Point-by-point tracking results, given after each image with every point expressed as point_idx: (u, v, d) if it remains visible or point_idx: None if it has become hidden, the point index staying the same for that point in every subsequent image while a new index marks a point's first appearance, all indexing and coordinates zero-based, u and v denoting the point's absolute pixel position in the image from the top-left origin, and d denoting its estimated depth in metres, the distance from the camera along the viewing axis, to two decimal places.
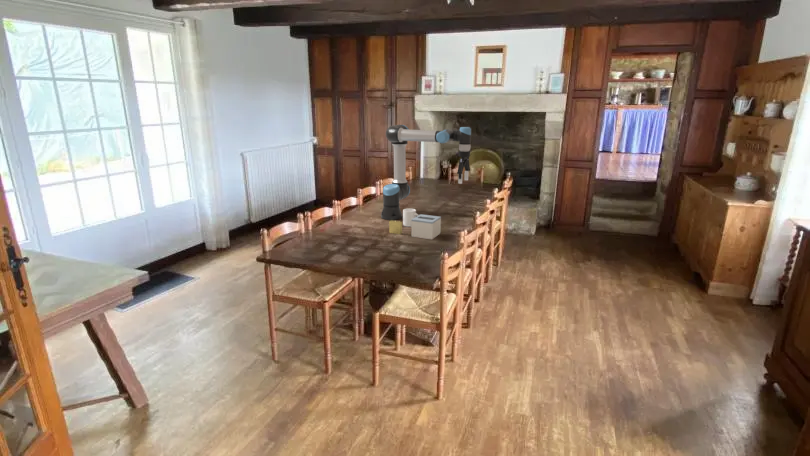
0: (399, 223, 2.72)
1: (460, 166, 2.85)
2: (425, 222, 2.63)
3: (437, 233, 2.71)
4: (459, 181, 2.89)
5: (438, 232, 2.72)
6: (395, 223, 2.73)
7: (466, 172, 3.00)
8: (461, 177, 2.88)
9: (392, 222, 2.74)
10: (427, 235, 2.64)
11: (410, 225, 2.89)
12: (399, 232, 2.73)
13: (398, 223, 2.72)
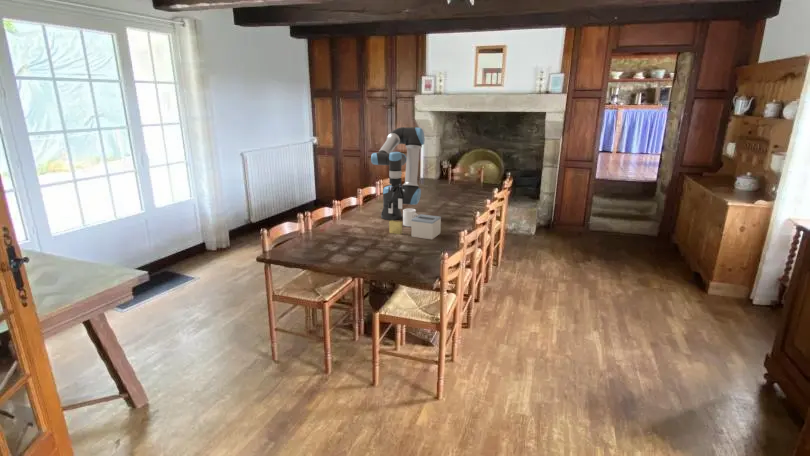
0: (399, 223, 2.72)
1: (389, 195, 2.61)
2: (425, 222, 2.63)
3: (437, 233, 2.71)
4: (389, 211, 2.65)
5: (438, 232, 2.72)
6: (395, 223, 2.73)
7: (400, 200, 2.76)
8: (391, 206, 2.64)
9: (392, 222, 2.74)
10: (427, 235, 2.64)
11: (410, 225, 2.89)
12: (399, 232, 2.73)
13: (398, 223, 2.72)
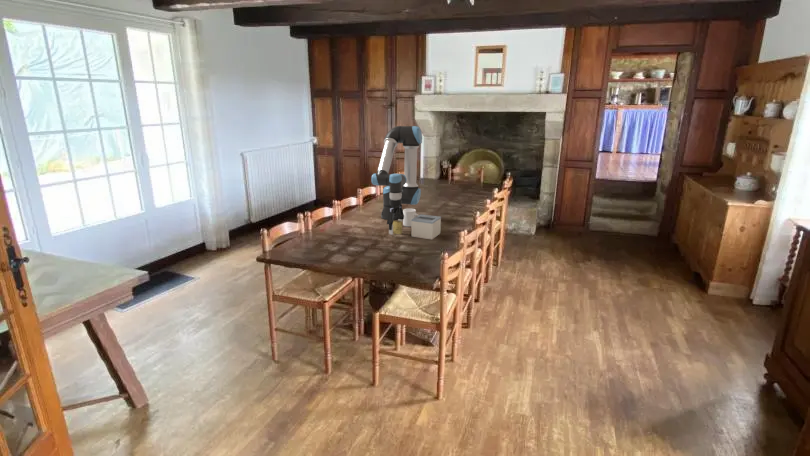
0: (399, 223, 2.72)
1: (390, 216, 2.65)
2: (425, 222, 2.63)
3: (437, 233, 2.71)
4: (390, 232, 2.70)
5: (438, 232, 2.72)
6: (395, 223, 2.73)
7: (399, 220, 2.79)
8: (392, 228, 2.68)
9: None
10: (427, 235, 2.64)
11: (410, 225, 2.89)
12: (399, 232, 2.73)
13: (398, 223, 2.72)
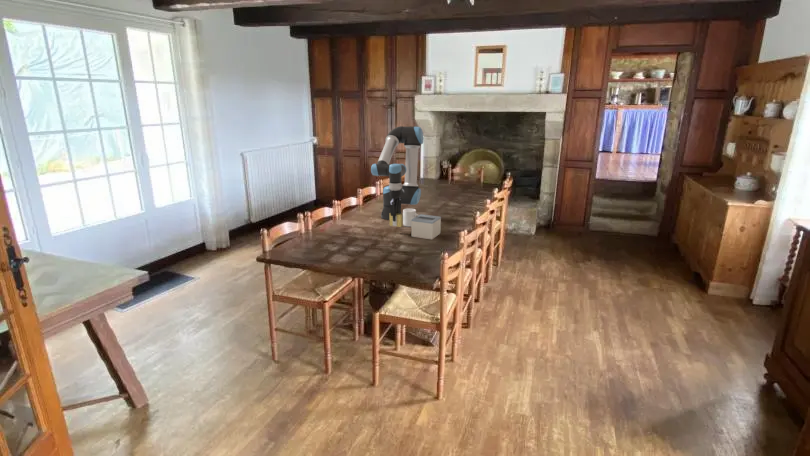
0: (399, 216, 2.71)
1: (392, 209, 2.67)
2: (425, 222, 2.63)
3: (437, 233, 2.71)
4: (394, 223, 2.73)
5: (438, 232, 2.72)
6: None
7: None
8: (395, 219, 2.72)
9: None
10: (427, 235, 2.64)
11: (410, 225, 2.89)
12: (399, 225, 2.73)
13: (398, 216, 2.71)
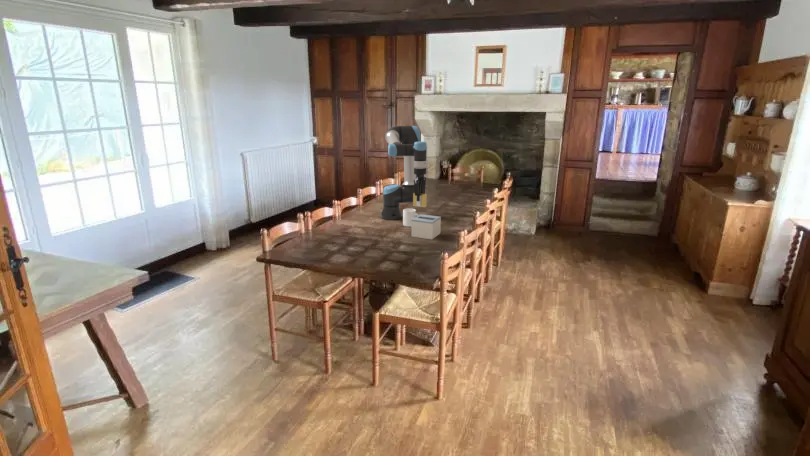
0: (423, 195, 2.63)
1: (416, 188, 2.59)
2: (425, 222, 2.63)
3: (437, 233, 2.71)
4: (417, 203, 2.65)
5: (438, 232, 2.72)
6: None
7: None
8: (419, 199, 2.64)
9: None
10: (427, 235, 2.64)
11: (410, 225, 2.89)
12: (423, 205, 2.65)
13: (422, 195, 2.63)
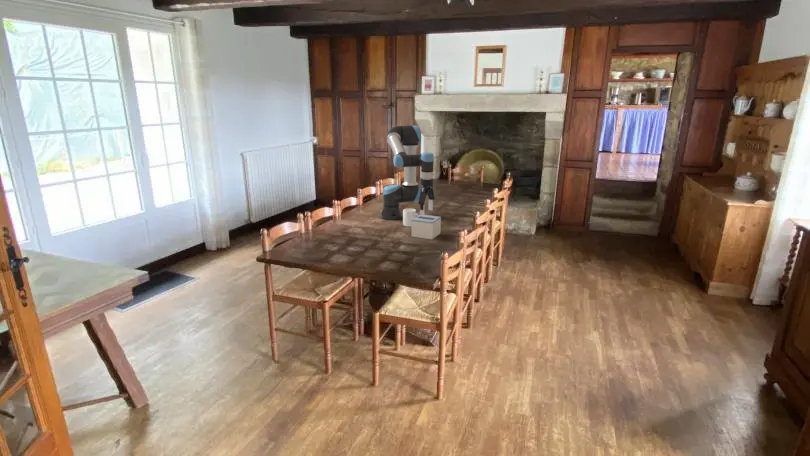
0: None
1: (421, 196, 2.58)
2: (425, 222, 2.63)
3: (437, 233, 2.71)
4: (421, 212, 2.62)
5: (438, 232, 2.72)
6: None
7: (430, 201, 2.72)
8: (423, 208, 2.61)
9: None
10: (427, 235, 2.64)
11: (410, 225, 2.89)
12: None
13: None
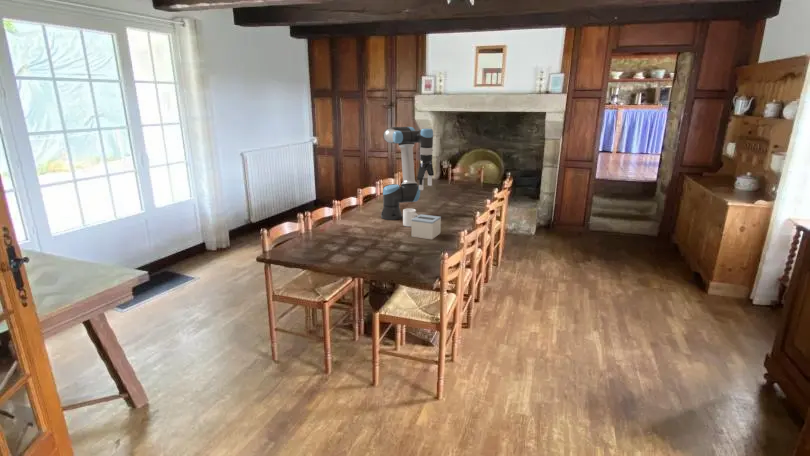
0: None
1: (420, 171, 2.63)
2: (425, 222, 2.63)
3: (437, 233, 2.71)
4: (420, 187, 2.67)
5: (438, 232, 2.72)
6: None
7: (429, 177, 2.77)
8: (422, 183, 2.66)
9: None
10: (427, 235, 2.64)
11: (410, 225, 2.89)
12: None
13: None
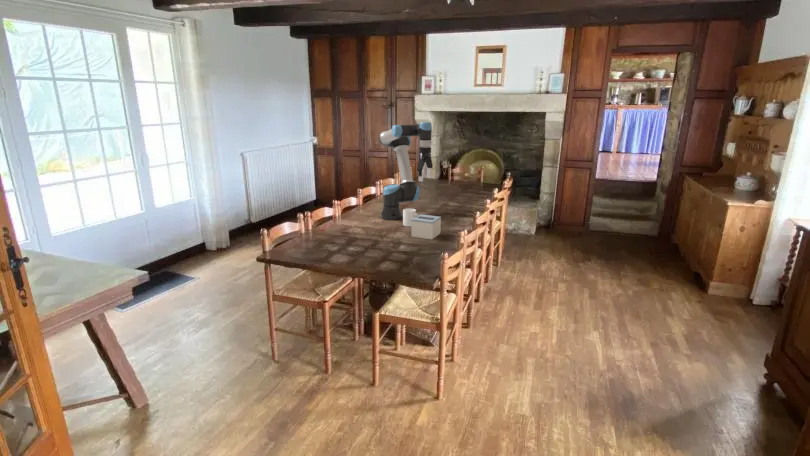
0: None
1: (420, 163, 2.72)
2: (425, 222, 2.63)
3: (437, 233, 2.71)
4: (419, 179, 2.76)
5: (438, 232, 2.72)
6: None
7: (428, 169, 2.87)
8: (421, 174, 2.75)
9: None
10: (427, 235, 2.64)
11: (410, 225, 2.89)
12: None
13: None
